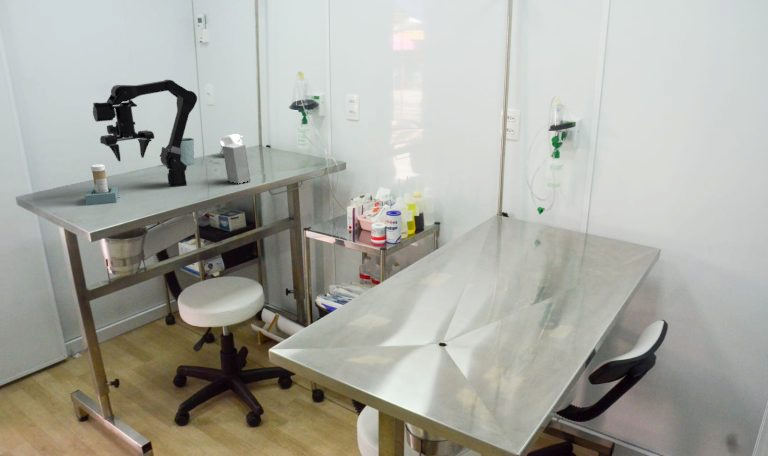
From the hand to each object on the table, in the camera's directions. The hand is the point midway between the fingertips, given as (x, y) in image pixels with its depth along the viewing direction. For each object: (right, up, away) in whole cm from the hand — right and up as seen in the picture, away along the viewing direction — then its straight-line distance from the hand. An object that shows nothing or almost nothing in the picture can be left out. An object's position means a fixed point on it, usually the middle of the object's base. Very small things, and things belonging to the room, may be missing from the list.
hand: (131, 159), depth 216 cm
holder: (-7, -16, -7) cm, 19 cm away
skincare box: (+37, -7, +19) cm, 42 cm away
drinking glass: (+3, +4, +52) cm, 52 cm away
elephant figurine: (+22, +9, +66) cm, 70 cm away
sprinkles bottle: (-7, -17, -7) cm, 19 cm away
